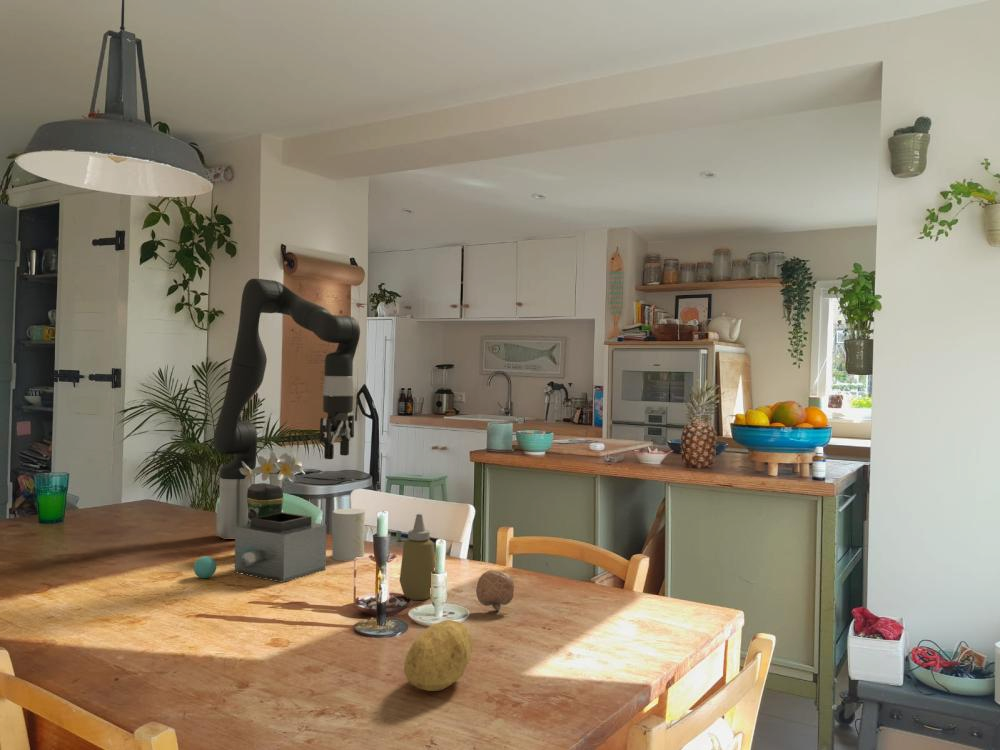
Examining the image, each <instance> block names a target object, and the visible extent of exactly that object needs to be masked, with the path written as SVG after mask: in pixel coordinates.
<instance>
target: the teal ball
mask: <svg viewBox="0 0 1000 750" xmlns="http://www.w3.org/2000/svg"><path fill="white" fill-rule="evenodd" d="M216 570H217V562H216V560H215V559H214V558H213V557H211V556H208V555H204V556H201V557H199V558H197V560H195V562H194V564H193V572H194V574H195V575H196V576H197V577H198V578H200V579H208V578H210V577H212V576H213V575H214V574H215V573H216Z"/></svg>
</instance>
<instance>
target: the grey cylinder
mask: <svg viewBox="0 0 1000 750" xmlns="http://www.w3.org/2000/svg"><path fill="white" fill-rule="evenodd" d="M365 515H366V512H365V510H364V509H362V508H351V507H350V508H348V507H347V508H339V509H335V510H332V545H331V547H332V548H331V549H332V552H331V553H332V557H331V558H332V559H333V558H334V560H335V559H338V560H337V561H340V560H353V561H355V560H354V559H355V558H356V557H363V556H364V557H365V521H366V519H365Z"/></svg>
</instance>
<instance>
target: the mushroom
mask: <svg viewBox="0 0 1000 750" xmlns="http://www.w3.org/2000/svg"><path fill="white" fill-rule="evenodd" d="M475 589H476V590H475V591H476V598H477V600H478V601H479V603H480V604H481V605H483V606H486V607H490V606H492V608H493V609H494V610H495V611H496V612H498V611H501V605H502V606H506V605H508V604H510V603H511V602H512V600H513V598H514V591H515V583H514V580H513V578H512V577H511V575H510V574H508V573H507V572H503V571H500V570H497V569H496V570H493V569H489V570H486V571H485V572H483V573H482V574H481V575H480V577H479V578H478V581H477V584H476V588H475Z"/></svg>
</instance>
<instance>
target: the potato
mask: <svg viewBox="0 0 1000 750" xmlns="http://www.w3.org/2000/svg"><path fill="white" fill-rule="evenodd" d="M472 654H473V638H472V635H471V631H470V630H469V629H468V627H467V626H466V625H465V624H463V623H462V622H460V621H457V620H452V619H445V620H441V621H439V622H437V623H434V624H432V625H430V626H428V627H427V628H426V629H424V631H422V632H421V633H420V634H419V635H418V636H417V638H416V639H415V640H414V642H413V643H412V645H411V646H410V648H409V649H408V652H407V654H406V657H405V659H404V667H403V673H404V675H405V677H406V680H407V682H408V683H409V684H411V685H412V686H414V687H415V688H417V689H419V690H424V691H429V692H438V691H442V690H445V689H446V688H448V687H450V686H451V685H452V684H454V683H456V682H457V681H458V680H460V679H461V677H462V676H464V673H465V669H466V668H467V666H468V664H469V661H470V659H471V657H472Z"/></svg>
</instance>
